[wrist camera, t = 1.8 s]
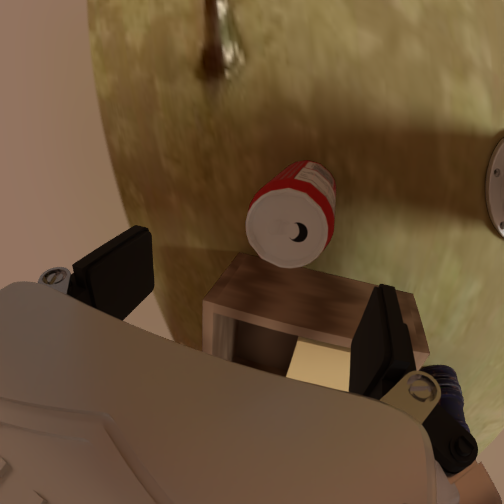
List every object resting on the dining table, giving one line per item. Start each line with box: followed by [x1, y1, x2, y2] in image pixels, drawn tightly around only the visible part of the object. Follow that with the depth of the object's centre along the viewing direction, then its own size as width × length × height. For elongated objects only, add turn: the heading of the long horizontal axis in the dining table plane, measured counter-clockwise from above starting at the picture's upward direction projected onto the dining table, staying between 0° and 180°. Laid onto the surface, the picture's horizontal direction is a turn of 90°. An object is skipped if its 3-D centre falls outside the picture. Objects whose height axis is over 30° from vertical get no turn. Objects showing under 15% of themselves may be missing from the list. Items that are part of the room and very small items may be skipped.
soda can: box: [246, 160, 336, 268], centre depth 22 cm, size 6×6×12 cm
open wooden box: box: [202, 252, 430, 377], centre depth 30 cm, size 20×17×10 cm
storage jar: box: [419, 365, 470, 433], centre depth 26 cm, size 10×10×15 cm
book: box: [286, 336, 351, 392], centre depth 25 cm, size 11×14×1 cm
